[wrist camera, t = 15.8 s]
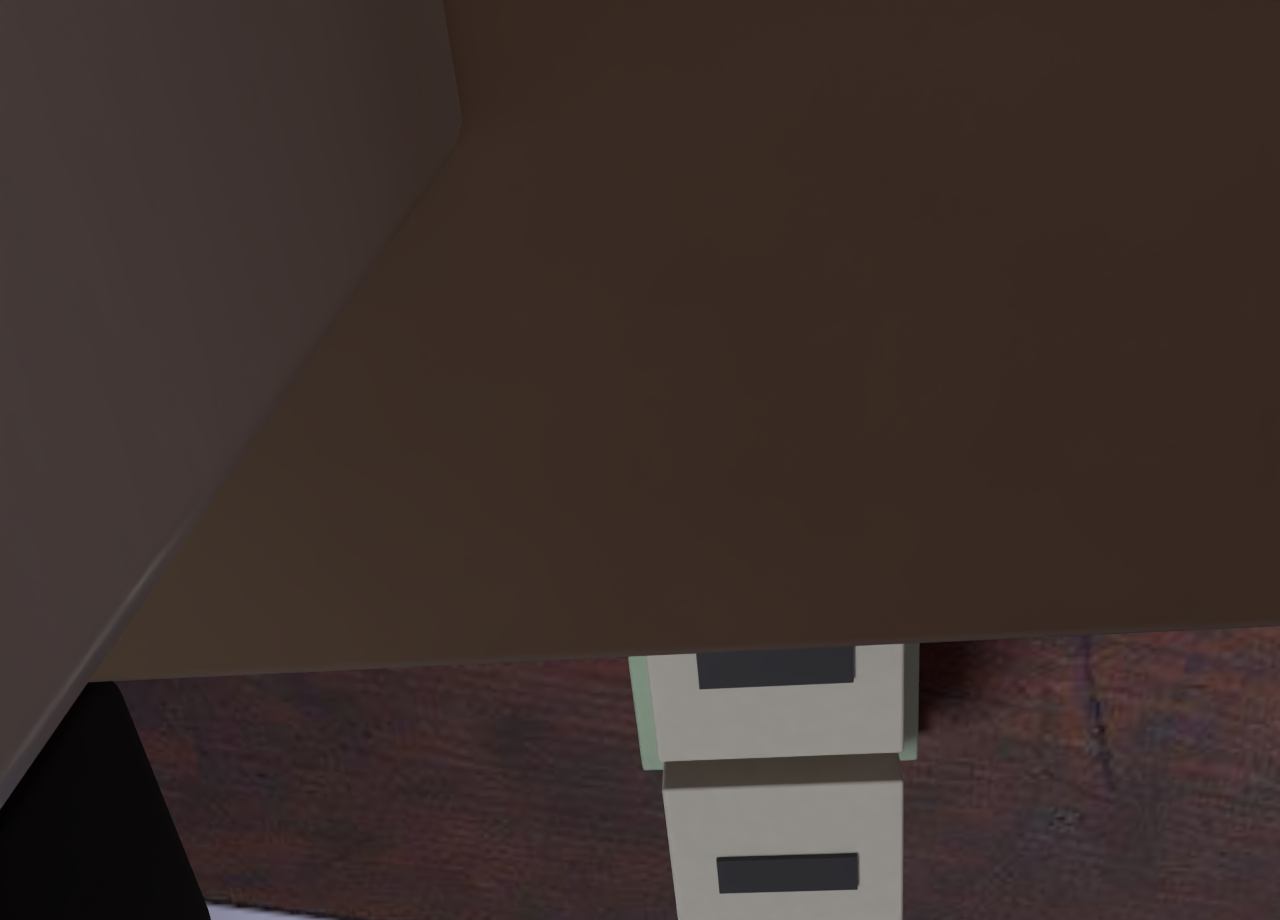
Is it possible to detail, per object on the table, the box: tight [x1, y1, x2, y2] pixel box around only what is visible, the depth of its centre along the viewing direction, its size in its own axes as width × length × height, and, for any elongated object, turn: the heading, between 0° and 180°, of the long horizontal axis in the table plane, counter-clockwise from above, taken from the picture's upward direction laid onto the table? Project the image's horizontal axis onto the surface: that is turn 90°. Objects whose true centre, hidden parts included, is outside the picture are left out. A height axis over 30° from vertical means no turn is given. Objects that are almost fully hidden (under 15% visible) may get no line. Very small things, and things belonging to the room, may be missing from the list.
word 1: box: [628, 643, 920, 920], centre depth 21 cm, size 6×15×6 cm, turn 6°
